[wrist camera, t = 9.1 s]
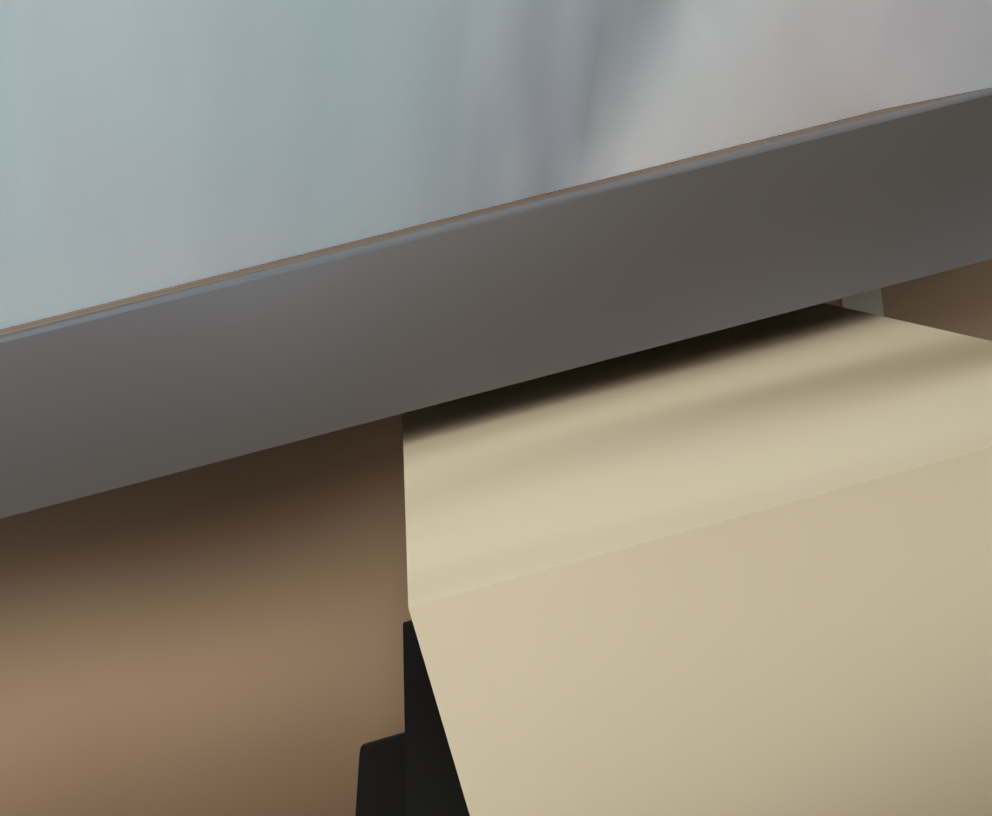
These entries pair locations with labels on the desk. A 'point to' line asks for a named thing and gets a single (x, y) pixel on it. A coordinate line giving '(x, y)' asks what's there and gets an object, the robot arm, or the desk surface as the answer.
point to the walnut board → (379, 441)
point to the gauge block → (716, 576)
